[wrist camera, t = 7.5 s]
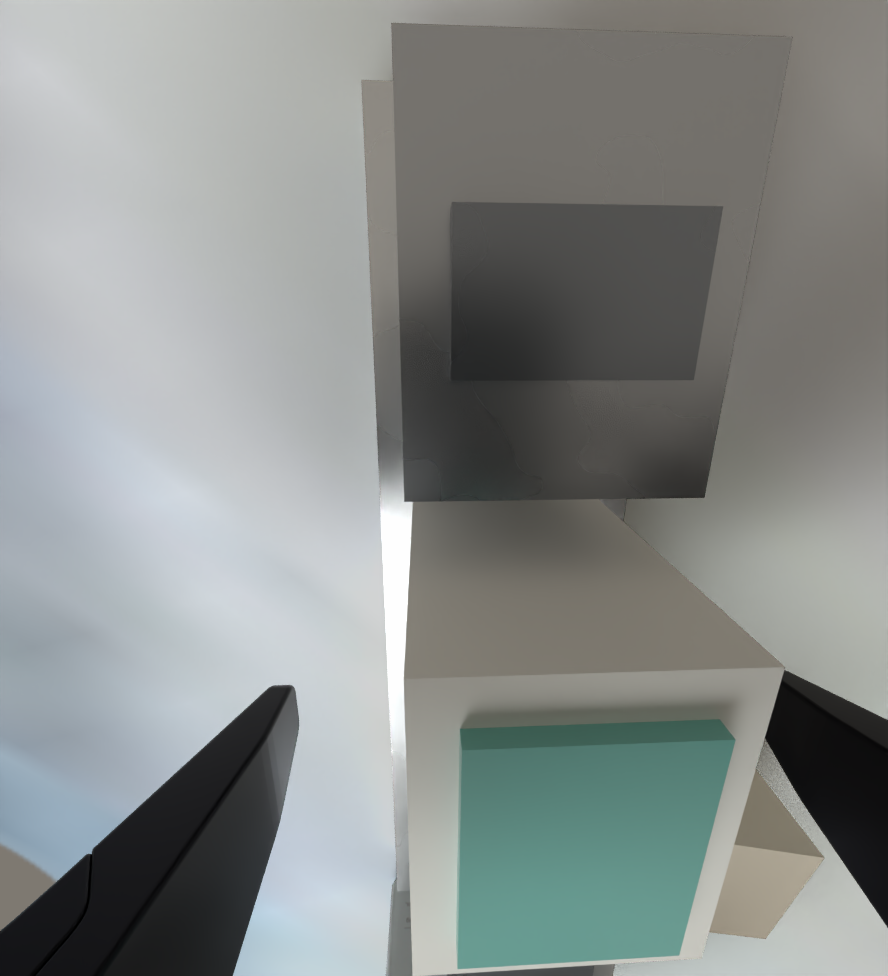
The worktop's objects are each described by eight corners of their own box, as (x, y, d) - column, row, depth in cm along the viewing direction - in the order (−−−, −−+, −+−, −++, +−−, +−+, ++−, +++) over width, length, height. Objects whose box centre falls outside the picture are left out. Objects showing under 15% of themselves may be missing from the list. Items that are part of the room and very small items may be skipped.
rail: (651, 118, 10) (920, -141, 4) (563, 844, 17) (629, 1077, 11) (368, 111, 9) (303, -174, 4) (399, 852, 16) (388, 1095, 11)
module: (597, 498, 11) (805, 686, 5) (576, 682, 13) (712, 984, 7) (412, 500, 11) (403, 699, 5) (416, 687, 13) (412, 1004, 7)
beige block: (739, 748, 16) (824, 858, 12) (697, 819, 17) (765, 939, 13) (606, 724, 15) (658, 833, 12) (571, 800, 16) (609, 920, 13)
